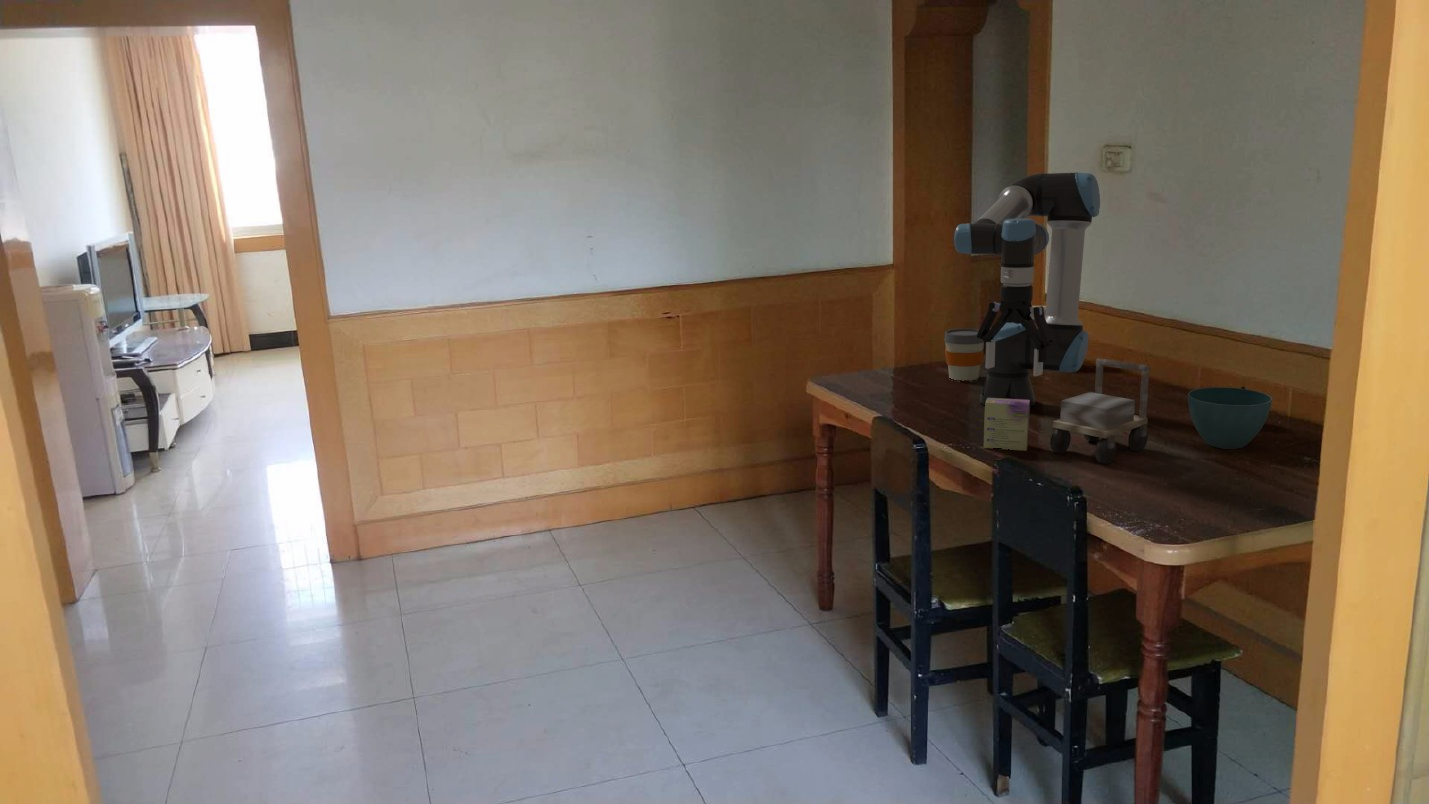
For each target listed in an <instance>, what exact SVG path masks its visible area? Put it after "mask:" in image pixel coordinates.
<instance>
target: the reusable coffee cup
mask: <svg viewBox="0 0 1429 804" xmlns="http://www.w3.org/2000/svg"><path fill="white" fill-rule="evenodd" d="M978 331H979V329H976V328H953V329H949V330H946V331H945V332H944V339H943V341H944V342H945V343H944V344H945V349H944V353H945V354H944V355H945V363H946V364H947V367H948V379H949V378H951V379H954V380H962V381H964V380H973V379H976V378H978V379H979V377H980V368H981V365H982V364H983V358H984V341H983V340H982V339H980V338H977V334H978Z"/></svg>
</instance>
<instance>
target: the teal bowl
mask: <svg viewBox="0 0 1429 804" xmlns="http://www.w3.org/2000/svg"><path fill="white" fill-rule="evenodd" d="M1187 402H1188V403H1187V405H1188V411H1189V413H1190V414H1189V415H1190V418H1191V421H1192V423H1193V425H1194V428H1195V429H1196V431H1197V432H1198V434H1199V435H1200V437H1201V438H1202V439H1203V440H1204V442H1205V443H1206V444H1207V445H1208V446H1210V447H1213V448H1217V449H1224V450H1235V449H1237V448H1239V449H1242V448H1244V447H1246V446H1247V445H1249V443H1250V442H1251V441H1253V439H1255V437H1256V436H1257V435H1258V434H1259V433H1260V431H1261V430H1262V428H1263V426H1264V425H1265V423H1266V421H1267V419H1268V417H1269V414H1270V412H1271V407H1272V404H1273V403H1272V402H1273V397H1272V396H1271V395H1269V394H1267V393H1264V392H1263V391H1262V392H1261V391H1258V390H1254V389H1247V388H1245V389H1242V388H1241V387H1229V386H1228V387H1227V386H1223V387H1222V386H1217V387H1216V386H1210V387H1202V388H1195V389H1192V390H1190V391H1189V392H1188V393H1187ZM1237 450H1238V449H1237Z"/></svg>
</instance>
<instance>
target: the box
mask: <svg viewBox="0 0 1429 804" xmlns="http://www.w3.org/2000/svg"><path fill="white" fill-rule="evenodd" d="M1030 408H1031V407H1030V400H1022V399H1003V398H987V400H986V403H985V406H984V420H983V421H984V423H983V425H984V426H983V449H993V448H1002V449H1001V450H1008V449H1009V451H1023V452H1027V450H1028V446H1029V445H1028V444H1029V431H1030V430H1029V428H1030V412H1031V411H1030Z"/></svg>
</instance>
